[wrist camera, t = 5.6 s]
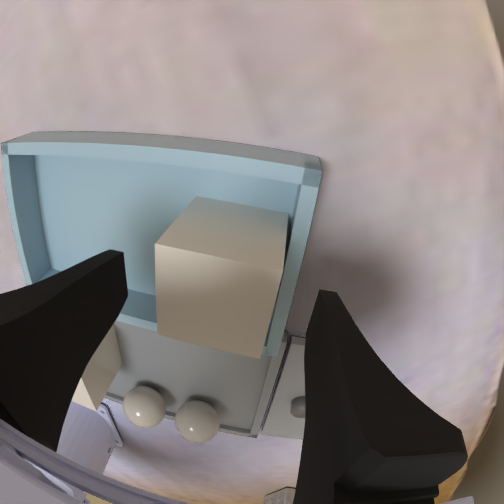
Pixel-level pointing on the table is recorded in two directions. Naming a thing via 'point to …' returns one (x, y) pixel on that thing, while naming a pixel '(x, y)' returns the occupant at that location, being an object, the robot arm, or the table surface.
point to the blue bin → (145, 203)
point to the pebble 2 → (197, 421)
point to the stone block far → (99, 373)
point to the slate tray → (216, 381)
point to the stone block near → (220, 275)
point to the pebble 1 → (144, 406)
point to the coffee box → (281, 497)
